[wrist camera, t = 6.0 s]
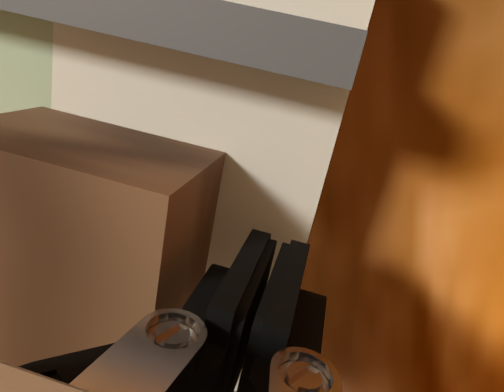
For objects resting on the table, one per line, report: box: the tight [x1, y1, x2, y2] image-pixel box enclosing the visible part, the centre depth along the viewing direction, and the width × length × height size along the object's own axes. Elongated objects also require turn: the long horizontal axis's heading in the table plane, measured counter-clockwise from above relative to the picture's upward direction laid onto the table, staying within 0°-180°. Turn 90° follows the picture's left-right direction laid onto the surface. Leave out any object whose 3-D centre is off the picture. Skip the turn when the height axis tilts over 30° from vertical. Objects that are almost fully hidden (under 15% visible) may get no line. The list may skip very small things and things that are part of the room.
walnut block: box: [0, 106, 226, 367], centre depth 12 cm, size 6×6×4 cm
